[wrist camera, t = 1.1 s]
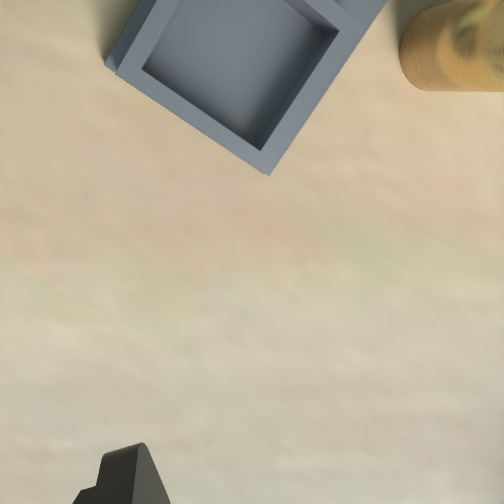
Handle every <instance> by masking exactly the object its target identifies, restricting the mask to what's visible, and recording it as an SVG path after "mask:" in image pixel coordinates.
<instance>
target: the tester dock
mask: <svg viewBox="0 0 504 504" xmlns="http://www.w3.org/2000/svg"><path fill="white" fill-rule="evenodd" d="M386 2H387V0H140V2H139V3H138V5H137V7H136V9H135V10H134V12H133V14H132V16H131V18H130V19H129V21H128V23H127V25H126V26H125V28H124V30H123V32H122V33H121V35H120V37H119V39H118V41H117V42H116V44H115V46H114V48H113V49H112V51H111V53H110V55H109V57H108V58H107V60H106V62H105V64H104V65H105V66H106V67H108V68H109V69H111V70H112V71H114V72H115V74H116V75H117V76H119V77H120V78H122V79H123V80H124V81H126V82H127V83H129V84H130V85H132V86H133V87H135V88H136V89H138V90H139V91H141V92H142V93H144V94H145V95H147V96H148V97H150V98H151V99H153V100H154V101H156V102H157V103H159V104H160V105H162V106H163V107H165V108H166V109H168V110H169V111H171V112H172V113H174V114H175V115H177V116H178V117H180V118H181V119H183V120H184V121H186V122H187V123H189V124H190V125H192V126H193V127H195V128H196V129H197V130H199V131H200V132H202V133H203V134H205V135H206V136H208V137H209V138H211V139H212V140H214V141H215V142H217V143H218V144H220V145H221V146H223V147H224V148H226V149H227V150H229V151H230V152H232V153H233V154H235V155H236V156H238V157H239V158H241V159H242V160H244V161H245V162H247V163H248V164H250V165H251V166H253V167H254V168H256V169H257V170H259V171H260V172H262V173H263V174H267V175H268V176H270V174H271V173H272V171H273V170H274V168H275V167H276V165H277V164H278V162H279V161H280V159H281V158H282V157H283V155H284V154H285V152H286V151H287V149H288V148H289V146H290V145H291V143H292V142H293V140H294V139H295V137H296V136H297V134H298V133H299V131H300V130H301V128H302V127H303V125H304V124H305V122H306V121H307V119H308V118H309V116H310V115H311V113H312V112H313V110H314V109H315V107H316V106H317V104H318V103H319V101H320V100H321V98H322V97H323V95H324V94H325V92H326V91H327V90H328V88H329V87H330V85H331V84H332V82H333V81H334V79H335V78H336V76H337V75H338V73H339V72H340V70H341V69H342V67H343V66H344V64H345V63H346V61H347V60H348V58H349V57H350V55H351V54H352V52H353V51H354V49H355V48H356V46H357V45H358V43H359V42H360V40H361V39H362V37H363V36H364V34H365V33H366V31H367V30H368V28H369V27H370V25H371V24H372V23H373V21H374V20H375V18H376V17H377V15H378V14H379V12H380V11H381V9H382V8H383V6H384V5H385V3H386Z"/></svg>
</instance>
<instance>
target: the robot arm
mask: <svg viewBox="0 0 504 504" xmlns="http://www.w3.org/2000/svg"><path fill="white" fill-rule="evenodd" d="M72 504H170V501H169V498H168V495H167V493H166V490H165V488H164V486H163V483H162V481H161V479H160V476H159V474H158V471H157V469H156V467H155V464H154V462H153V460H152V457H151V455H150V452H149V450H148V448H147V446H146V445H145V444H144V443H138V444H135V445H132V446H128V447H125V448H122V449H118V450H115V451H112V452H108V453H105V454H104V455H103V457H102V460H101V464H100V469H99V474H98V479H97V483H96V486H94V487H91V488H87V489H84V490H81V491H80V492H79V494H78V496H77V497H76V499H75V500H74V502H73V503H72Z"/></svg>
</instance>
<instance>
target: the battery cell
mask: <svg viewBox="0 0 504 504" xmlns="http://www.w3.org/2000/svg"><path fill="white" fill-rule="evenodd" d="M400 63H401V67H402V70H403V73H404V74H405V76H406V78H407V79H408V80H409V82H410V83H411V84H413V85H414V86H415V87H417V88H419V89H421V90H425V91H453V92H504V0H455V1H452V2H449V3H446V4H442V5H439V6H436V7H432V8H429V9H427V10H425V11H423V12H421V13H420V14H419V15H417V16H416V17H415V18H414V19H413V20H412V22H411V23H410V24H409V26H408V27H407V29H406V31H405V33H404V35H403V38H402V41H401V45H400Z"/></svg>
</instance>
